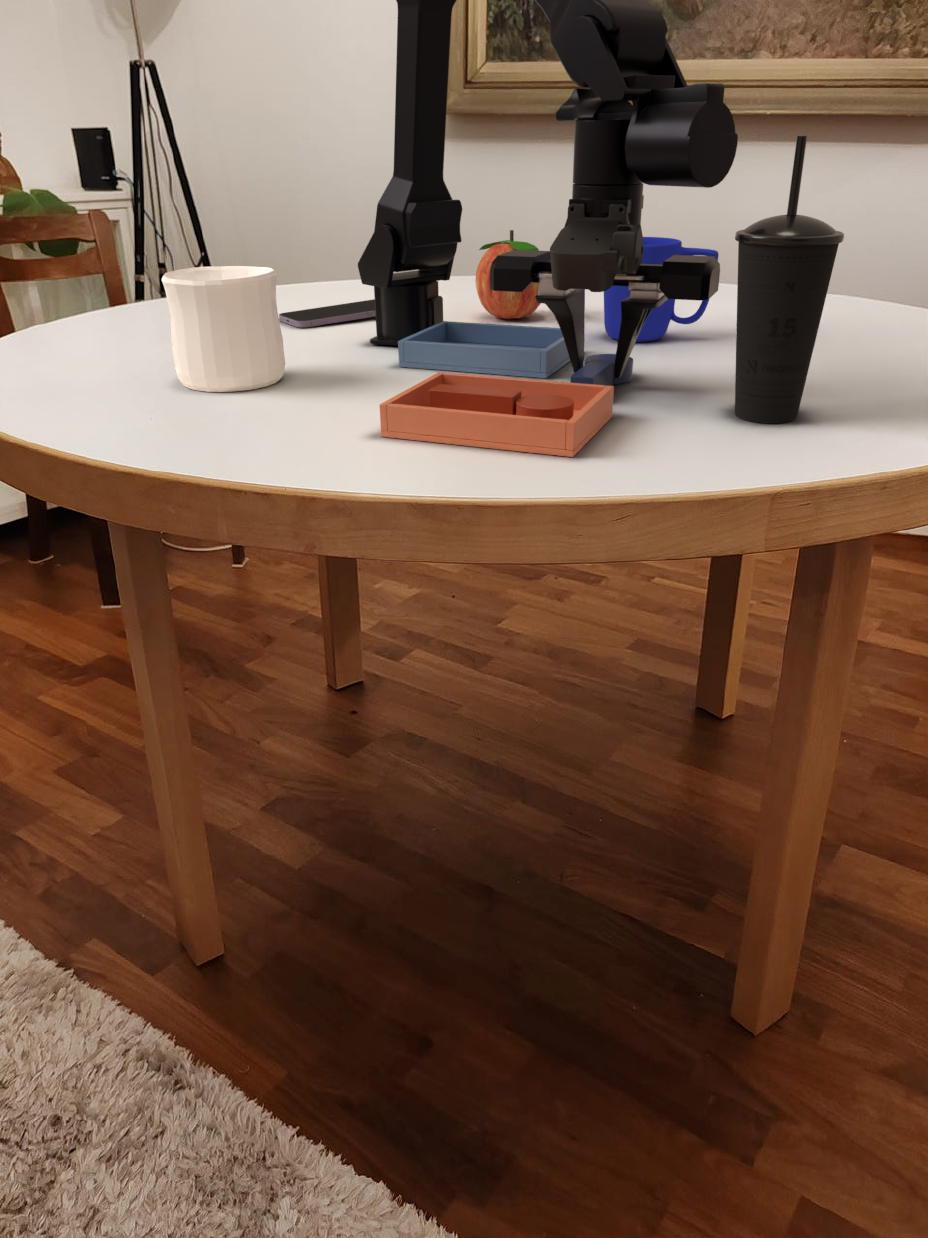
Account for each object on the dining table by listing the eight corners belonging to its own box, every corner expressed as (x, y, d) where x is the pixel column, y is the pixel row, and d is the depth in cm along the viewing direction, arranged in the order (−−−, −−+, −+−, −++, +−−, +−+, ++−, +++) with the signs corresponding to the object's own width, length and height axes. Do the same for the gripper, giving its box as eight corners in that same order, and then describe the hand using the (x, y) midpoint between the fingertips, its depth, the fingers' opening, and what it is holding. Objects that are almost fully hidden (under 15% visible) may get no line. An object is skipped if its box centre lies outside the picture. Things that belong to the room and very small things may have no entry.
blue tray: (398, 366, 93) (397, 340, 92) (443, 344, 103) (443, 320, 101) (546, 378, 88) (547, 351, 87) (579, 353, 97) (580, 329, 96)
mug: (710, 347, 99) (721, 245, 95) (595, 344, 102) (600, 244, 97) (708, 332, 107) (718, 236, 102) (600, 329, 109) (605, 236, 104)
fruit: (518, 308, 122) (519, 225, 117) (563, 319, 115) (566, 231, 110) (461, 315, 118) (460, 229, 113) (503, 327, 111) (503, 235, 106)
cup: (171, 375, 91) (154, 268, 87) (274, 365, 95) (263, 261, 90) (184, 398, 84) (166, 282, 79) (295, 386, 87) (285, 274, 82)
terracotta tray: (380, 436, 72) (379, 404, 71) (439, 401, 82) (438, 371, 80) (573, 457, 67) (574, 422, 66) (612, 416, 76) (614, 385, 75)
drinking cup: (703, 404, 79) (731, 136, 70) (792, 401, 80) (831, 134, 71) (734, 430, 72) (769, 136, 63) (831, 426, 73) (880, 134, 64)
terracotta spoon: (423, 421, 74) (422, 393, 73) (445, 407, 78) (444, 380, 77) (563, 434, 70) (564, 405, 69) (579, 419, 74) (581, 391, 73)
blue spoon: (606, 404, 80) (607, 378, 79) (555, 400, 81) (556, 374, 80) (636, 374, 89) (638, 351, 88) (591, 371, 90) (592, 348, 89)
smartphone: (275, 313, 117) (382, 297, 124) (276, 322, 118) (383, 306, 124) (299, 322, 112) (410, 304, 118) (300, 331, 112) (410, 314, 119)
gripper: (464, 188, 74) (467, 389, 81) (707, 190, 67) (686, 407, 75) (512, 181, 83) (510, 361, 90) (730, 182, 77) (709, 376, 84)
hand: (597, 376), depth 84 cm, fingers open, 3 cm apart
